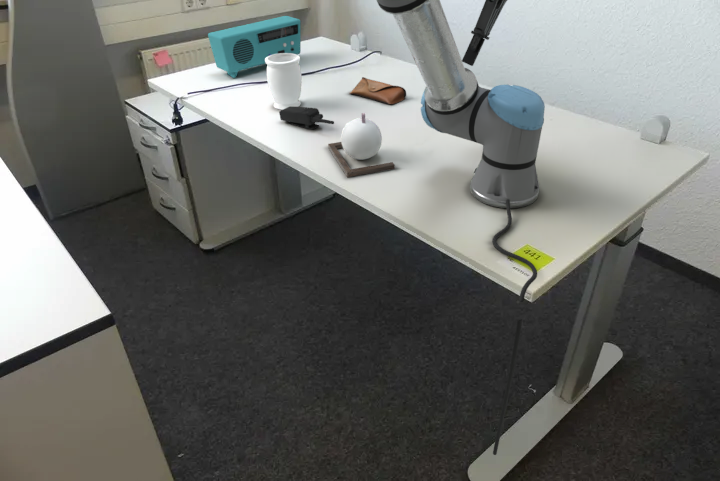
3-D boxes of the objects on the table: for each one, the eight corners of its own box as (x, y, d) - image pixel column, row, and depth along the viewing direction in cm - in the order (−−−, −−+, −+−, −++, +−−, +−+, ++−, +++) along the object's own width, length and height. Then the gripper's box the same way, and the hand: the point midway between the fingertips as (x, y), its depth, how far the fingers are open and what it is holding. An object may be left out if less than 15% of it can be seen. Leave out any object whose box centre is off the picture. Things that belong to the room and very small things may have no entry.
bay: (394, 169, 136) (394, 164, 135) (347, 177, 133) (347, 173, 132) (371, 140, 150) (371, 136, 149) (328, 147, 147) (328, 143, 146)
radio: (229, 82, 192) (222, 38, 183) (214, 75, 198) (206, 32, 189) (305, 60, 210) (302, 19, 201) (289, 54, 216) (285, 15, 208)
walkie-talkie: (294, 108, 165) (346, 116, 154) (287, 127, 164) (338, 136, 153) (281, 98, 159) (334, 106, 148) (274, 118, 159) (326, 127, 148)
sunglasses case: (346, 93, 178) (352, 72, 177) (358, 98, 184) (364, 78, 183) (391, 104, 169) (398, 83, 168) (402, 109, 175) (408, 89, 174)
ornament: (388, 160, 140) (388, 116, 133) (352, 169, 136) (350, 124, 129) (370, 145, 147) (370, 102, 140) (335, 153, 144) (333, 110, 137)
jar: (280, 114, 166) (275, 65, 158) (264, 104, 173) (258, 57, 165) (310, 106, 171) (306, 58, 163) (293, 97, 178) (288, 50, 170)
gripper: (526, -37, 114) (475, 70, 125) (533, -30, 126) (486, 69, 136) (494, -50, 116) (446, 57, 126) (503, -42, 127) (459, 56, 138)
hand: (467, 63), depth 131 cm, fingers closed
